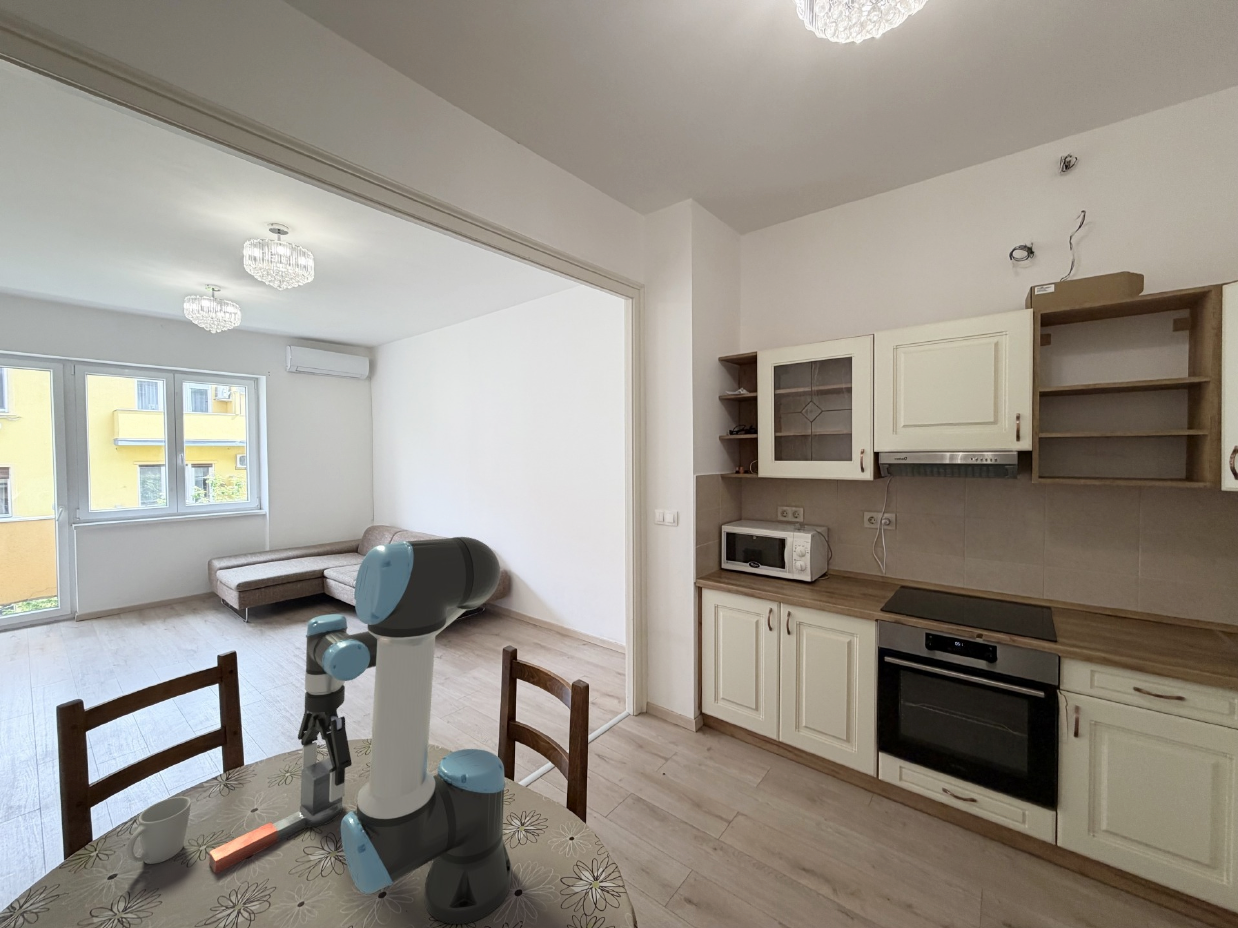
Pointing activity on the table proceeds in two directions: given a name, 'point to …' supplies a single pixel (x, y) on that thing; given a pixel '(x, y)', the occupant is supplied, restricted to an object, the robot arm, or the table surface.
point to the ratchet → (267, 836)
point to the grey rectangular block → (317, 787)
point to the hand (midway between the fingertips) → (322, 785)
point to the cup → (161, 830)
